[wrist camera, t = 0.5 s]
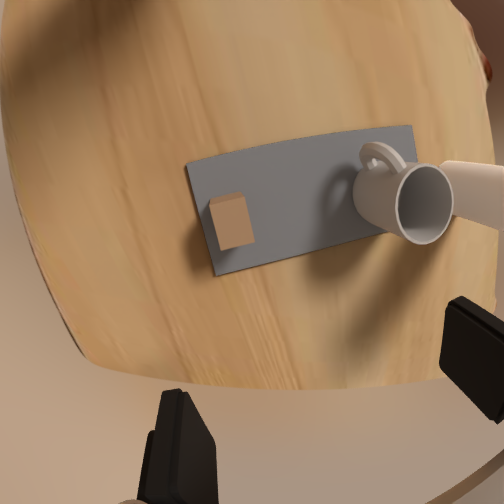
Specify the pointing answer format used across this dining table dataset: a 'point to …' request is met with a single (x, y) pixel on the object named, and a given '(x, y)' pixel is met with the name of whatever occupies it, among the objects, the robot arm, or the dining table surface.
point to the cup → (402, 194)
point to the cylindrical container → (477, 191)
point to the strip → (286, 196)
